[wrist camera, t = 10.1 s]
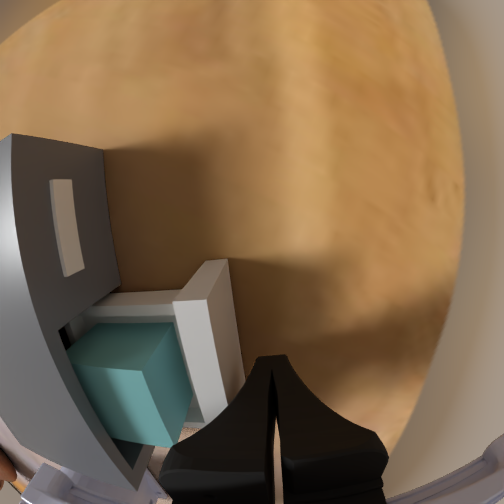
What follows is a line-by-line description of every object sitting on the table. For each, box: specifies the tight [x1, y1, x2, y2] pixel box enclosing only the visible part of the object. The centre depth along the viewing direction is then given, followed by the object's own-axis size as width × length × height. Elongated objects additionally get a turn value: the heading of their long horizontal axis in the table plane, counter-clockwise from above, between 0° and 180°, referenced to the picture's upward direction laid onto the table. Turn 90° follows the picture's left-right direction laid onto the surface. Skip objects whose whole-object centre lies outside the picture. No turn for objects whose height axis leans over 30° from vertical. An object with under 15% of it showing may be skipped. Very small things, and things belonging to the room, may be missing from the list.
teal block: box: [66, 322, 193, 448], centre depth 11 cm, size 4×4×4 cm
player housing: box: [0, 133, 155, 492], centre depth 10 cm, size 16×10×6 cm, turn 6°
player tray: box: [64, 259, 245, 428], centre depth 11 cm, size 10×9×5 cm
